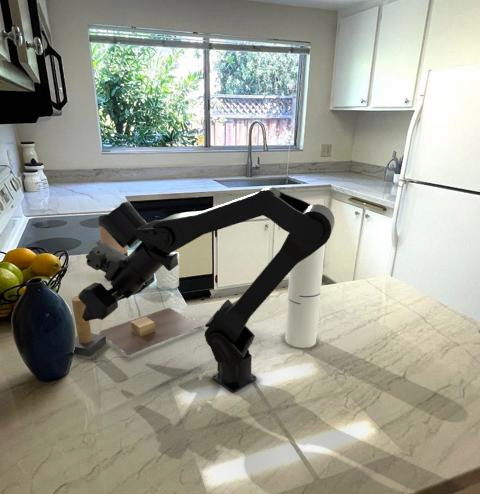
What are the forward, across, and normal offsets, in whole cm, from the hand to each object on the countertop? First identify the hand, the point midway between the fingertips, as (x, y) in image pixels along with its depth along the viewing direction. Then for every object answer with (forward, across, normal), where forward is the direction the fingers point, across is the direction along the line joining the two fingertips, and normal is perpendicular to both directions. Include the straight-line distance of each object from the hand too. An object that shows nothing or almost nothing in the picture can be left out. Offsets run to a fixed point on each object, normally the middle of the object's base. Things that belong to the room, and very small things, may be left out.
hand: (98, 309), depth 83 cm
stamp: (+11, 0, +5) cm, 12 cm away
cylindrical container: (-20, -20, +36) cm, 46 cm away
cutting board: (+4, -12, +11) cm, 17 cm away
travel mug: (+24, -42, -8) cm, 49 cm away
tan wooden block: (+4, -10, +10) cm, 15 cm away
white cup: (+11, -41, +5) cm, 42 cm away
